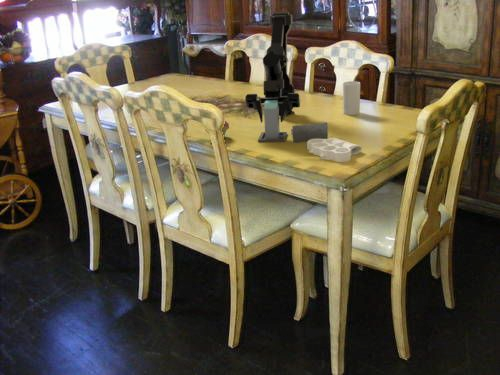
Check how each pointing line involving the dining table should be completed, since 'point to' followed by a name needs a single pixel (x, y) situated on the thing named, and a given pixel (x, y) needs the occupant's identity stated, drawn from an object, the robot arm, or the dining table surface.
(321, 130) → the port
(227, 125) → the cupcake
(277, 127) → the plug
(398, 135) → the dining table surface
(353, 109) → the mug
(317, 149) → the white muffin tray
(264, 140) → the tray
